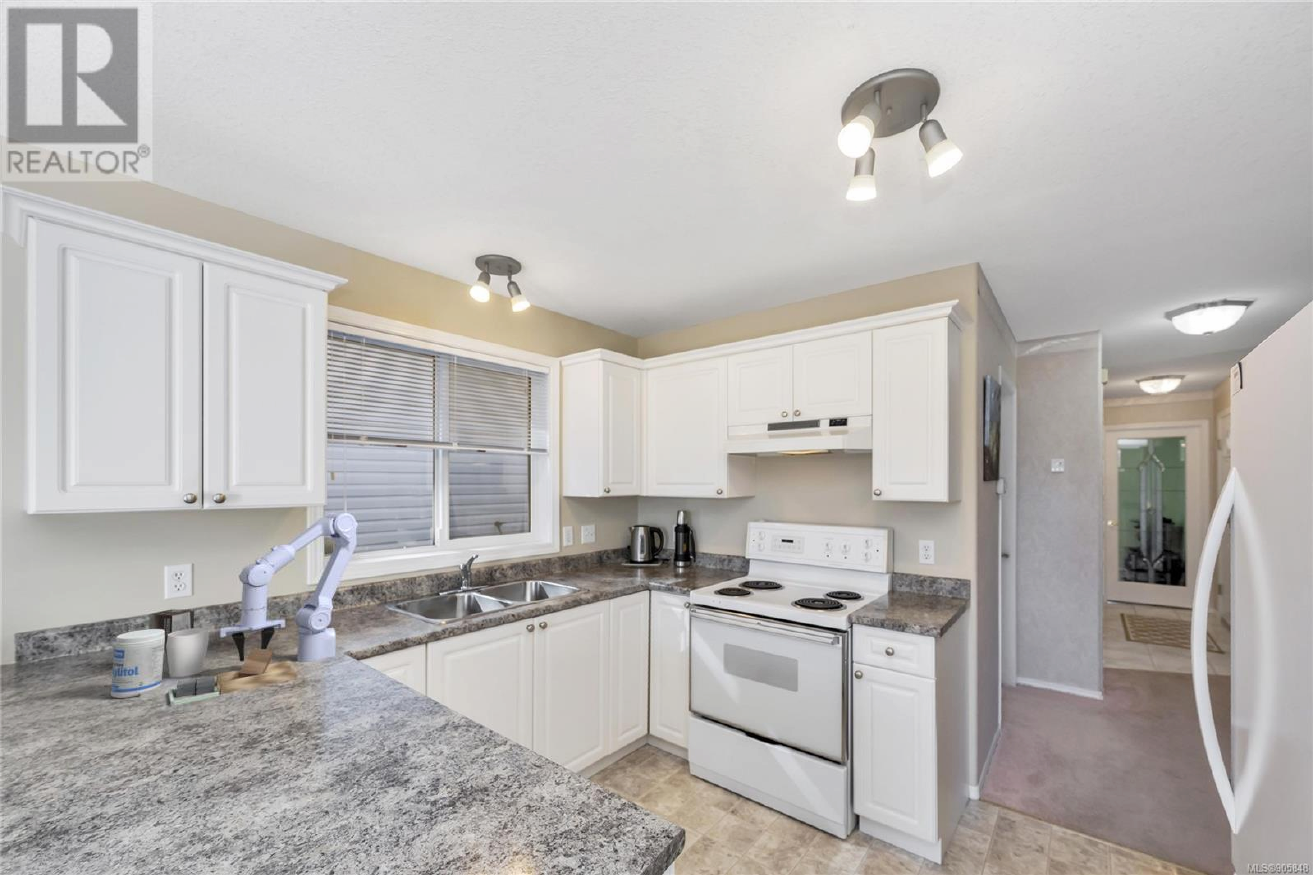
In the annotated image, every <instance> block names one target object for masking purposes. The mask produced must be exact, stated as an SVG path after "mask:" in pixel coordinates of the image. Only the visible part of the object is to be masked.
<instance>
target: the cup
mask: <svg viewBox="0 0 1313 875" xmlns="http://www.w3.org/2000/svg"><path fill="white" fill-rule="evenodd" d="M209 637H210V636H209V628H207V627H194V628H192V629H185V630H180V631H175V632H172V633H170V634H168V637H167V645H166V649H167V657H168V665H169V672H170V673H169V678H170V679H171V678H184V677H189V676H193V675H196V674H200V673H203V668H204V664H205V660H206V659H205V658H206V655H207V651H208V646H209V642H210V641H209Z"/></svg>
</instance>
